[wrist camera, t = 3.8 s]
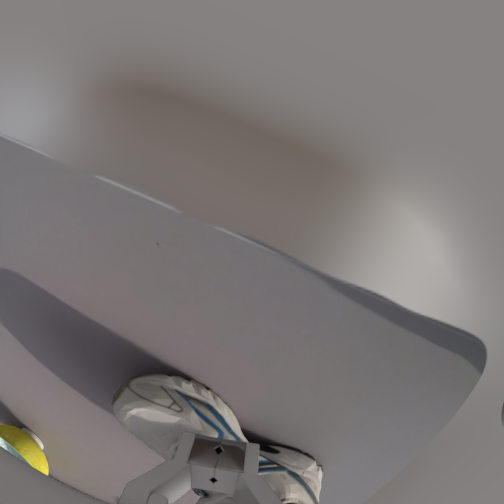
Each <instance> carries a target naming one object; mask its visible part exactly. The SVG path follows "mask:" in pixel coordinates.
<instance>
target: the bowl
mask: <svg viewBox="0 0 504 504" xmlns="http://www.w3.org/2000/svg"><path fill="white" fill-rule="evenodd" d="M0 446H1V447H2V448H4V449H5V450H7V451H8V452H10V453H11V454H13V455H14V456H16V457H17V458H19V459H21V460H22V461H24V462H25V463H27V464H29V465H30V466H32V467H34V468H35V469H37V470H39V471H40V472H42V473H44V474H46V475H48V471H49V470H48V463H47V459H46V457H45V455H44V453H43V451H42V449H43V448H44V446H43V444H42V442H41V441H40V439H39V438H38V437H37V436H36V435H35V434H34V433H33V432H32V431H30V430H29V429H27V428H22V429H19V428H17V427H14V426H11V425H0Z"/></svg>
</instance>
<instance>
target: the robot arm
mask: <svg viewBox="0 0 504 504" xmlns="http://www.w3.org/2000/svg"><path fill="white" fill-rule="evenodd" d="M259 449H260V445H259V444H256V443H248V442H242V441H235V440H228V439H222V438H221V439H220V438H215V437H210V436H205V435H201V434H196V433H192V432H188V431H184V432H183V433H182V436H181V438H180V441H179V444H178V447H177V450H176V453H175V456H174V459H168V460H167V461H165V462H164V463H162V464H160V465H159V466H157V467H155V468H154V469H152V470H150V471H148V472H147V473H145V474H143V475H141V476H140V477H138V478H136V479H134V480H133V481H131V482H129V483H127V484H126V487H125V489H124V491H123V493H122V495H121V498H120V500H119V502H118V504H172V503H173V502H174V501H176V500H177V499H178V498H180V497H181V496H182V495H183V494H184V493H186V492H187V491H188V490H189V489H191V487H192V488H197V489H203V490H209V491H214V492H220V493H225V494H231V495H233V496H234V498H235V500H236V502H237V503H238V504H283V503H282V501H281V500H280V499H279V498H278V496H277V495H276V494H275V492H274V491H273V490H272V489H271V487H270V486H269V485H268V483H267V482H266V481H265V479H264V478H263V476H262V475H258V465H259ZM0 504H108V503H105V502H103V501H100V500H98V499H95V498H93V497H91V496H88V495H86V494H84V493H82V492H79V491H77V490H75V489H73V488H71V487H69V486H67V485H65V484H63V483H61V482H59V481H57V480H55V479H53V478H51V477H49V476H48V475H46V474H44V473H42V472H40V471H39V470H37V469H35V468H34V467H32V466H30V465H29V464H27V463H25V462H24V461H22V460H21V459H19V458H17V457H16V456H14V455H13V454H11V453H10V452H8V451H7V450H5V449H4V448H2V447H1V446H0Z"/></svg>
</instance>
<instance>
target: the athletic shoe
mask: <svg viewBox="0 0 504 504" xmlns="http://www.w3.org/2000/svg"><path fill="white" fill-rule="evenodd" d="M112 405H113V408H114V413H115V415H116V417H117V419H118V420H119V422H120V423H121V424H122V425H123V426H124V427H125V428H127V429H128V430H129V431H130V432H131V433H133V434H134V435H135V436H136V437H138V438H139V439H140V440H142V441H143V442H144V443H145V444H146V445H148V446H149V447H150V448H151V449H153V450H154V451H155V452H157V453H158V454H160V455H161V456H162V457H163V458H164V459H166V460H168V459H174V456H175V453H176V450H177V447H178V444H179V441H180V438H181V436H182V433H183V432H184V431H188V432H192V433H196V434H201V435H205V436H210V437H215V438H220V439H221V438H222V439H228V440H235V441H242V442H248V441H247V439H246V438H245V437H244V435H243V433H242V431H241V429H240V425H239V421H238V420H237V418H236V417H235V416H234V411H233V410H232V409H231V408H230V407H229V406H228V405H227V404H226V403H224V402H222V400H221V398H220V397H219V396H218V395H217V394H215V393H214V392H213V391H212V389H208V390H206V389H205V387H204V386H203V385H202V384H200V383H198V382H196V381H194V380H189V381H187V380H186V379H184V378H183V377H182V376H174V375H172V376H170V377H169V376H167V375H166V374H160V373H158V374H144V375H141V376H138V377H134V378H131V379H130V380H129V381H128V382H127V383H126V384H124V385H123V386H122V387H121V388H120V389H119V390H118V391H117V392H116V394H115V395H114V398H113V401H112ZM248 443H249V442H248ZM322 471H323V469H322V466H321V465H318V466H317V465H316V462H315V459H314V458H313V457H312V456H310V455H309V454H308V453H303V452H301V451H299V450H296V449H293V448H289V447H282V446H279V445H266V444H265V445H262V446H260V449H259V465H258V475H262V476H263V478H264V479H265V481H266V482H267V483H268V485H269V486H270V487H271V489H272V490H273V491H274V492H275V494H276V495H277V496H278V498H279V499H280V500H281V501H282V503H283V504H319V503H318V502H319V492H320V490H321V479H322ZM191 488H192V487H191ZM192 489H193V491H194V492H195V493H196V494H197V495H199V496H201V498H200V499H199V500H198V501H197V503H196V504H238V503H237V502H236V500H235V498H234V496H233V495H231V494H225V493H220V492H214V491H209V490H203V489H197V488H192Z"/></svg>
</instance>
